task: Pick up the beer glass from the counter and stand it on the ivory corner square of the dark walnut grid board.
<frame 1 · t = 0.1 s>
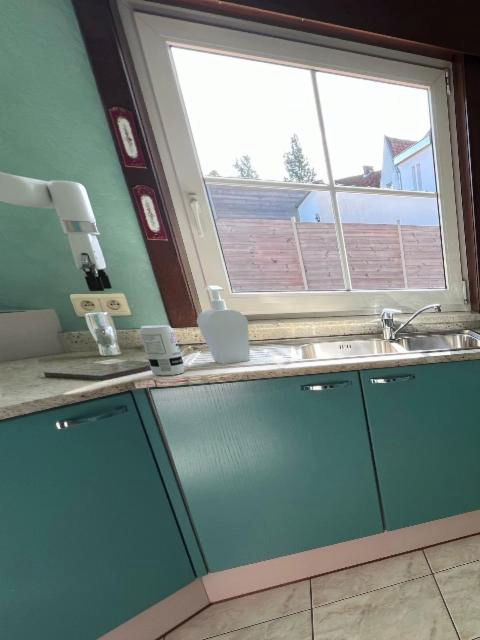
hand: (101, 289, 150), 25 cm above the worktop, tool pointing down, fingers open, 9 cm apart
grid board: (108, 371, 158), on the worktop
soap bottle: (231, 361, 178), on the worktop
supplement can: (169, 374, 158), on the worktop
beer glass: (111, 355, 181), on the worktop
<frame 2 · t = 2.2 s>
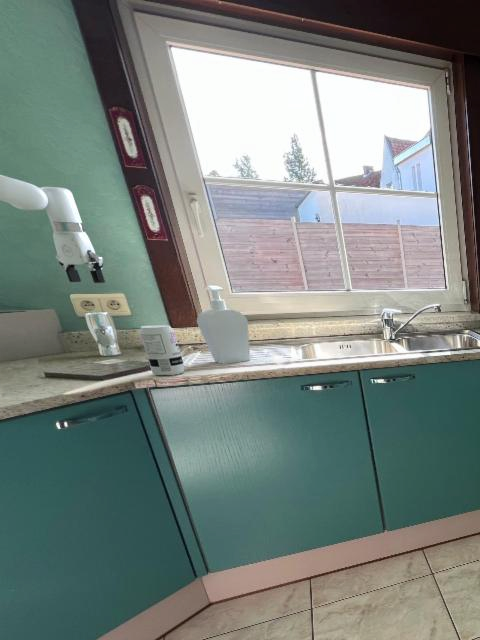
hand: (87, 282, 171), 26 cm above the worktop, tool pointing down, fingers open, 9 cm apart
nothing on the worktop moved.
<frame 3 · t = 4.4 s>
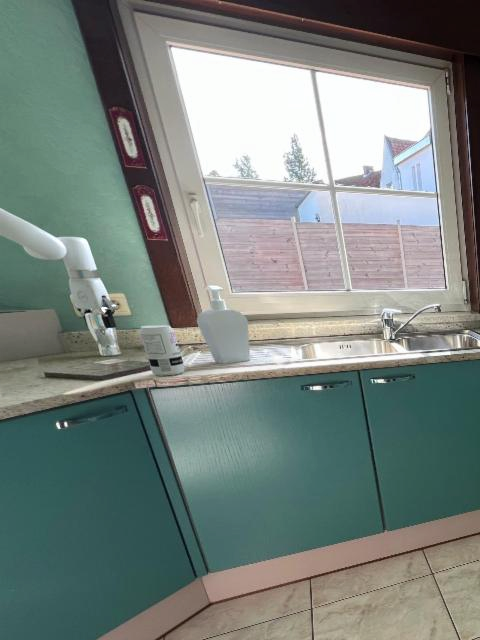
hand: (101, 326, 177), 10 cm above the worktop, tool pointing down, fingers closed on beer glass, 7 cm apart
beer glass: (111, 355, 181), on the worktop, touching gripper
everything else where it was.
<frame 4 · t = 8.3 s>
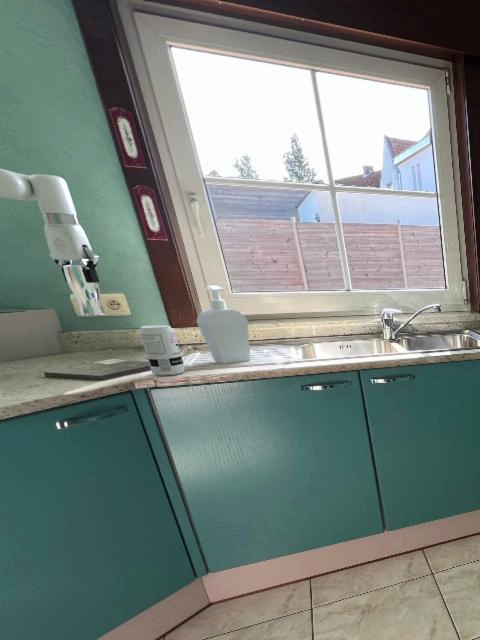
hand: (82, 281, 156), 27 cm above the worktop, tool pointing down, fingers closed on beer glass, 7 cm apart
beer glass: (94, 315, 160), point 17 cm above the worktop, touching gripper
everything else where it was.
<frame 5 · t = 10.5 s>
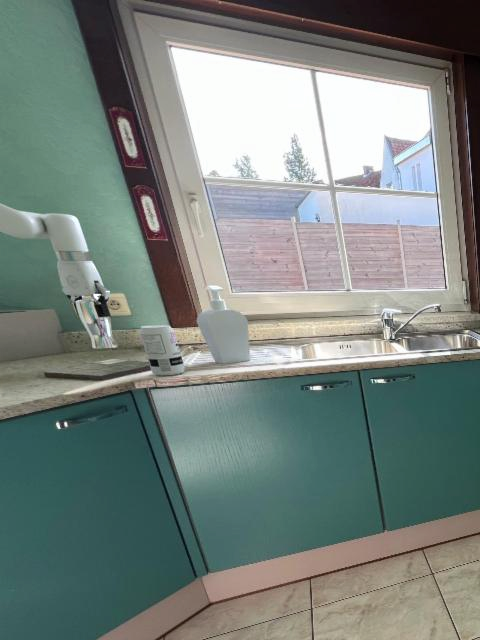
hand: (94, 315, 159), 16 cm above the worktop, tool pointing down, fingers closed on beer glass, 7 cm apart
beer glass: (105, 347, 163), point 6 cm above the worktop, touching gripper
everything else where it was.
when the fingers open (12 cm above the worktop, at t = 12.2 s): beer glass stays where it is, resting on grid board.
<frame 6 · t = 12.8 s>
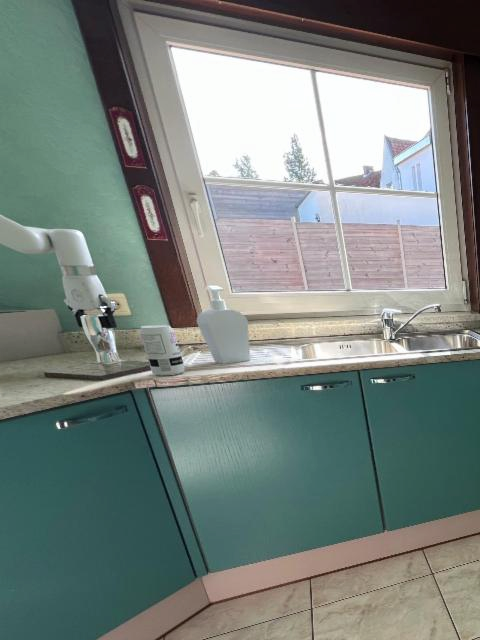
hand: (98, 327, 160), 13 cm above the worktop, tool pointing down, fingers open, 9 cm apart
beer glass: (110, 362, 164), point 1 cm above the worktop, touching grid board
everything else where it was.
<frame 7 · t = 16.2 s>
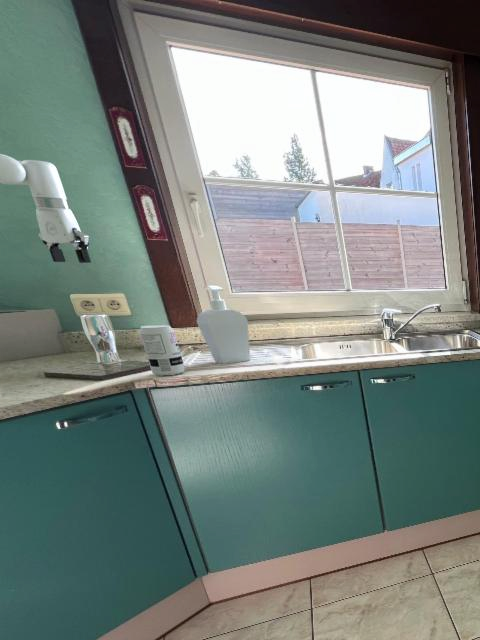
hand: (72, 262, 163), 32 cm above the worktop, tool pointing down, fingers open, 9 cm apart
nothing on the worktop moved.
at the end: beer glass 0.1 cm from the target spot on the grid board, point 1.4 cm above the grid board's base; beer glass tilted 0°; the gripper is holding nothing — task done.
